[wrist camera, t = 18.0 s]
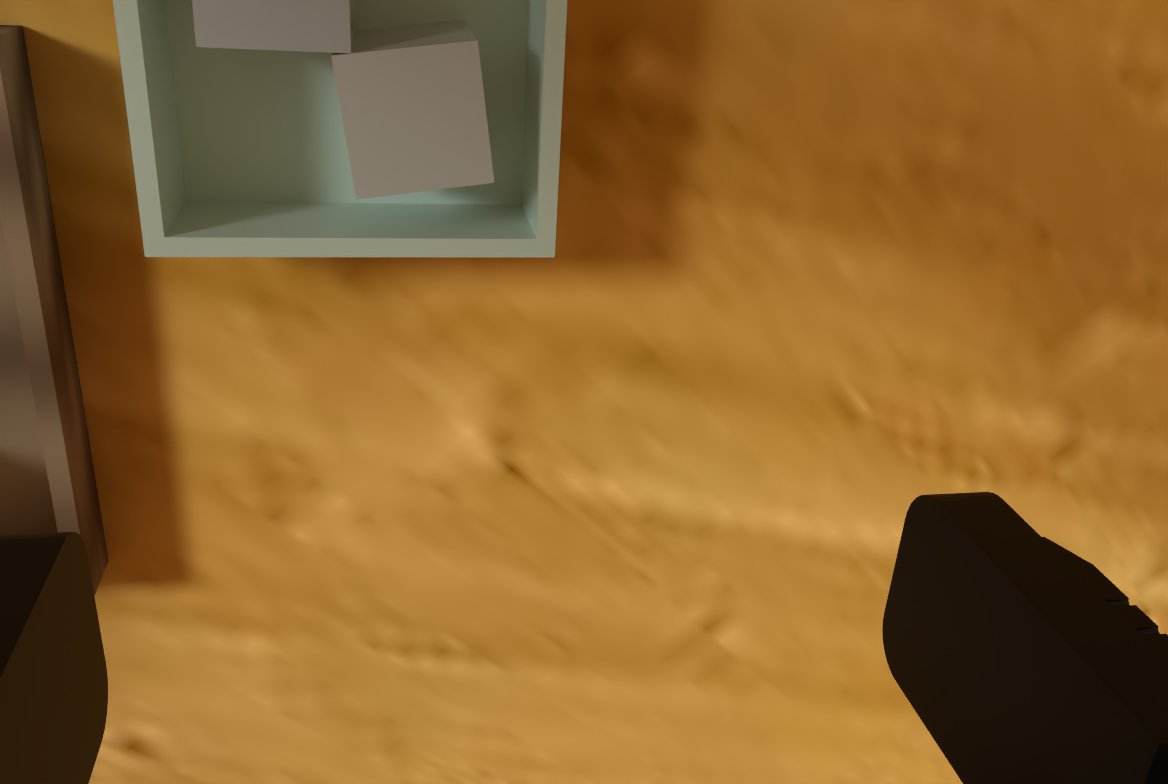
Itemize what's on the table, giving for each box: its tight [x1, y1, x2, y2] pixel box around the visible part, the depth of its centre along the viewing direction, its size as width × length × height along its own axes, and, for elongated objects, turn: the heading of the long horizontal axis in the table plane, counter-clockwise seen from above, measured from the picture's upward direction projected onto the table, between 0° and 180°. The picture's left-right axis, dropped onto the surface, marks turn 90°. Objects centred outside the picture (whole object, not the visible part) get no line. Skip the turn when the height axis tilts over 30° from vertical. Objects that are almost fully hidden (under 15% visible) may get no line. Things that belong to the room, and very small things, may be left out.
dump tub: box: [113, 0, 567, 257], centre depth 31 cm, size 12×12×5 cm
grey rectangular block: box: [331, 20, 494, 199], centre depth 32 cm, size 4×4×5 cm
